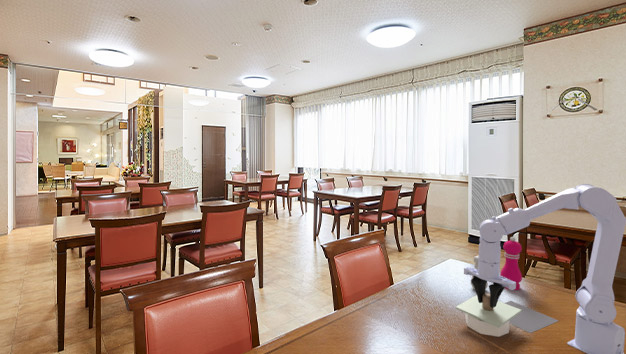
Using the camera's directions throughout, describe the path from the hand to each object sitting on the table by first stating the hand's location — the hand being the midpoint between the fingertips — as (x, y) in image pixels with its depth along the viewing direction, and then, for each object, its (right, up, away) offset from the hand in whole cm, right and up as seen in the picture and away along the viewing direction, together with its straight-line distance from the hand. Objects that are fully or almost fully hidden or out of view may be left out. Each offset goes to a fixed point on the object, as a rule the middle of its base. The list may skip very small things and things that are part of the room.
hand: (487, 304), depth 98 cm
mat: (+14, -6, +6) cm, 17 cm away
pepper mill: (+24, -5, +28) cm, 37 cm away
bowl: (0, -7, +1) cm, 7 cm away
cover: (0, -2, 0) cm, 2 cm away
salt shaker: (+11, -5, +26) cm, 29 cm away
